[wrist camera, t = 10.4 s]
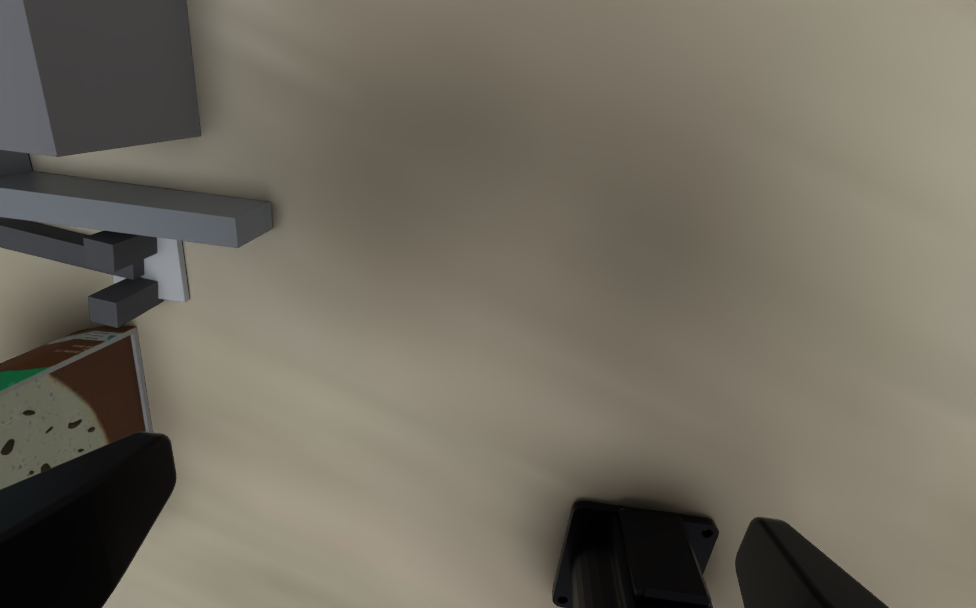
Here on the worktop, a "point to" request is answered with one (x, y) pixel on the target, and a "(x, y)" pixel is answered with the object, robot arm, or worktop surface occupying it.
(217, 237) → the holder
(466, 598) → the worktop surface
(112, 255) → the clip
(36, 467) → the food container
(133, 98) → the block
